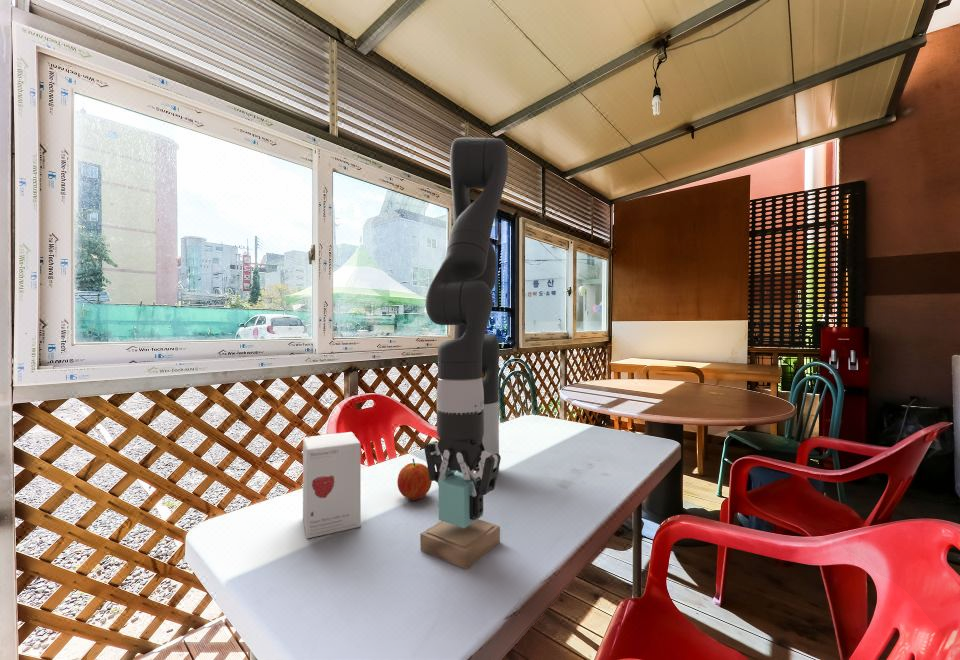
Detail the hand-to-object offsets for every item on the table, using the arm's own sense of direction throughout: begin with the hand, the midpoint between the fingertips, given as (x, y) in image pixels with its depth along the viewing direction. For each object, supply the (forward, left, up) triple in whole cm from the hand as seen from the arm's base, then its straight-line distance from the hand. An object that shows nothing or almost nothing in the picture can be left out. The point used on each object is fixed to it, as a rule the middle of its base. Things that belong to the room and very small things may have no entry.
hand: (461, 512), depth 63 cm
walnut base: (0, 0, -5) cm, 5 cm away
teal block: (0, 0, -1) cm, 1 cm away
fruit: (-19, +9, -5) cm, 22 cm away
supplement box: (-24, -7, -5) cm, 26 cm away
